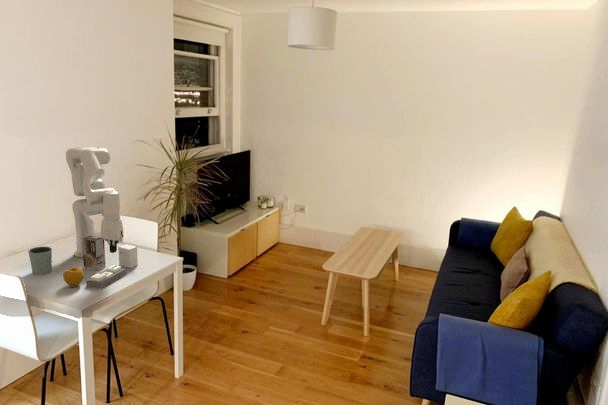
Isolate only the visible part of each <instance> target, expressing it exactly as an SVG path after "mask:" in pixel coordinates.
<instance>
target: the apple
mask: <svg viewBox="0 0 608 405" xmlns="http://www.w3.org/2000/svg"><path fill="white" fill-rule="evenodd" d="M84 277H85V272H84V270H83V269H82V268H81V267H70V268H67V269H65V271H64V272H63V275H62V278H63V281H64V282H65V284H67V285H68V286H70V287H71V288H75V287H78V286H79V285H81V283H82V281H84V280H83V279H84Z"/></svg>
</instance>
